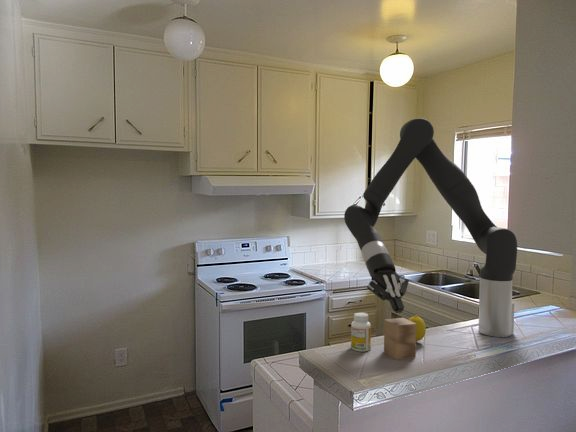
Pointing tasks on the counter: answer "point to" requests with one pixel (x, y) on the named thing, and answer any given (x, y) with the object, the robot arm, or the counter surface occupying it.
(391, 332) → the brown wooden block
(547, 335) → the counter surface
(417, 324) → the lemon
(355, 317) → the supplement bottle
